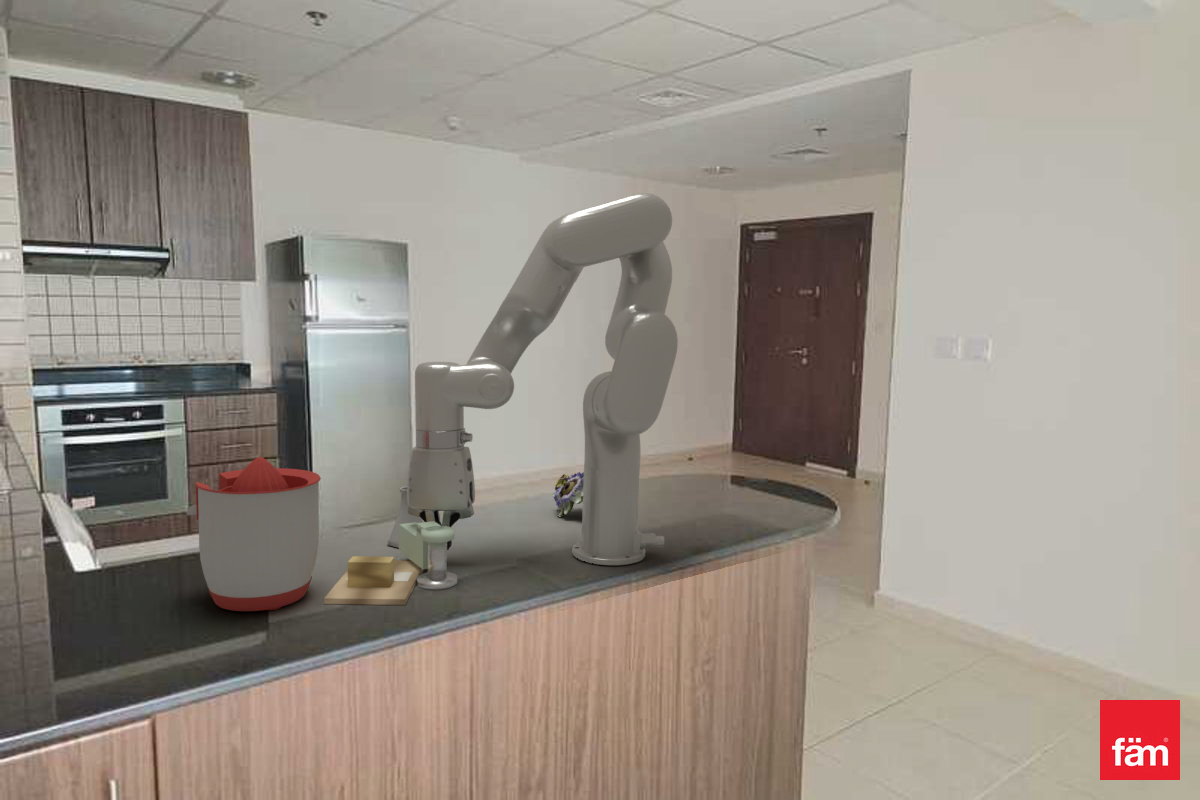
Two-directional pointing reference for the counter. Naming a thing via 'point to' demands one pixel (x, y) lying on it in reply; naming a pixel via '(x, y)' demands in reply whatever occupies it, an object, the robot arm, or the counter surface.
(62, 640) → the counter surface
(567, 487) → the passion flower
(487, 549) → the counter surface
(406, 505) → the flask
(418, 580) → the post
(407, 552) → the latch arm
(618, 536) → the robot arm
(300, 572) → the citrus juicer
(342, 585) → the oak board
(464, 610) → the counter surface
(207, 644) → the counter surface
